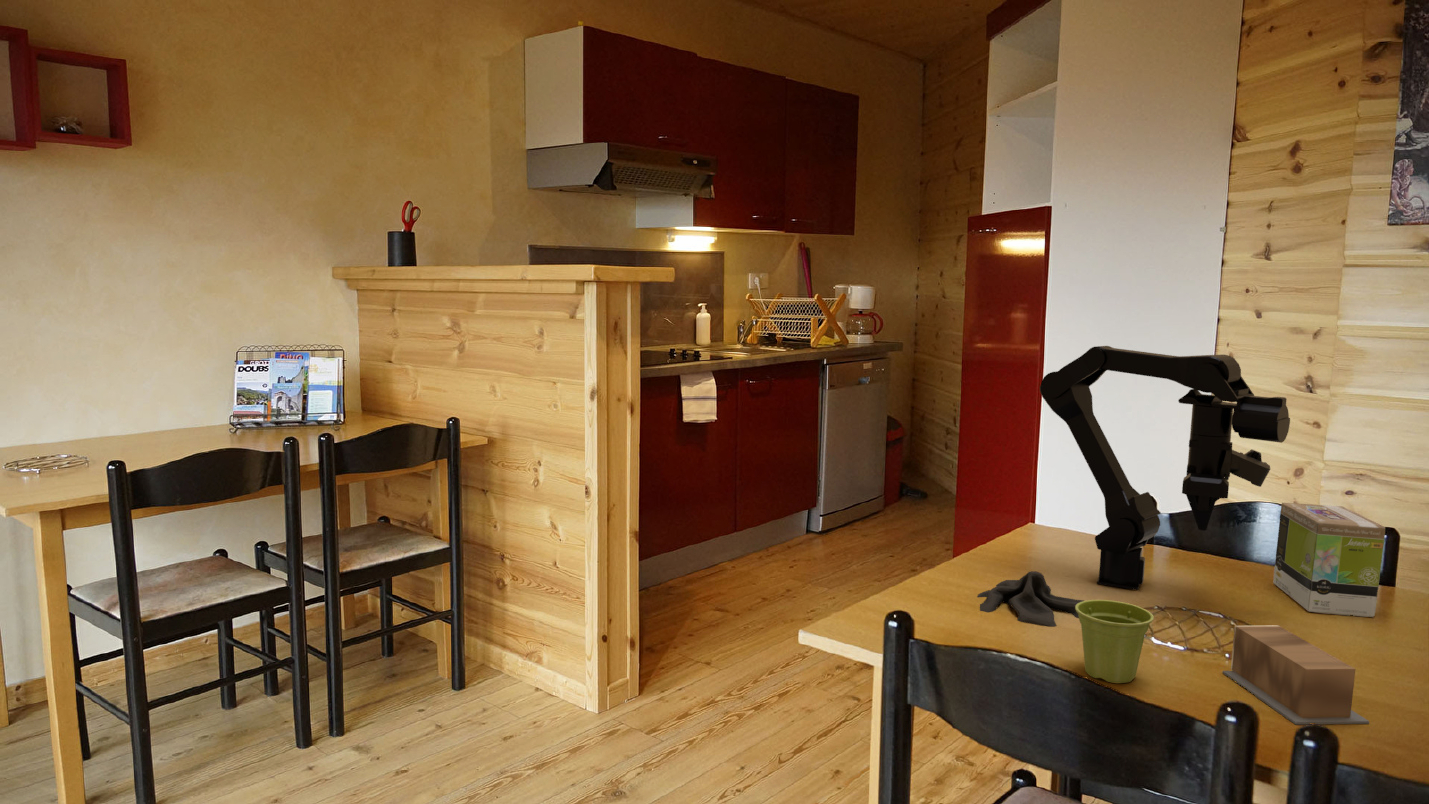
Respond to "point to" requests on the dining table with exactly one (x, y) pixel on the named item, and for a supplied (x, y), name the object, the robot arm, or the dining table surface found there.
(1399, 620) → the dining table surface
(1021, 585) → the cloth
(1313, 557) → the tea box
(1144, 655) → the dining table surface
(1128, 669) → the plant pot
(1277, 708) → the rubber mat
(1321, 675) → the walnut block
